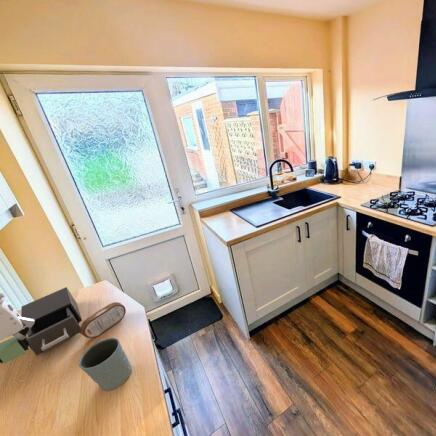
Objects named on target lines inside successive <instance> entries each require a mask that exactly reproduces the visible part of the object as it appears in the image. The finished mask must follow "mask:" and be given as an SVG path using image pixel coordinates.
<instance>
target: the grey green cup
mask: <svg viewBox="0 0 436 436" xmlns="http://www.w3.org/2000/svg"><path fill="white" fill-rule="evenodd" d="M78 367H79V368H80V369H81V370H82V371H83V372H84V373H86V374H87V375H88V376H89V378H90V379H91V380H92V381H93V382H94V383H96V384H97V385H98V387H99V388H101V390H103V391H105V392H107V391H108V392H109V391H113V390H115V389H117V388H119V387H121V386H122V385H123V384H124V383H125V382H126V381H127V380H128V379H129V377H130V376H131V374H132V371H133V370H132V369H133V367H132V364H131V362H130V361H129V358H128V356H127V354H126V352H125V350H124V349H123V346H122V344H121V342H120V340H119V339H118V338H117V337H108V338H104V339H101V340H99V341H97V342H95V343H93V345H91V346H90V347H89V348H87V349H86V350H85V351H84V352H83V354H82V355H81V356H80V358H79V361H78Z"/></svg>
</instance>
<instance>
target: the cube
mask: <svg viewBox="0 0 436 436" xmlns="http://www.w3.org/2000/svg"><path fill="white" fill-rule="evenodd" d="M18 341H19V340H18V338H16V337H14V336H13V337H10V338H9V339H6V340H5V341H1V342H0V359H1V360H2V361H3V364H5V365H6V364H8V363H10V362H12V361H14V360H15V359H17V358H20V357H22V356H23V355H25V354H27V351H25V350H24V349H23V347H22V346H21V345H20V344H19V342H18Z"/></svg>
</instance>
